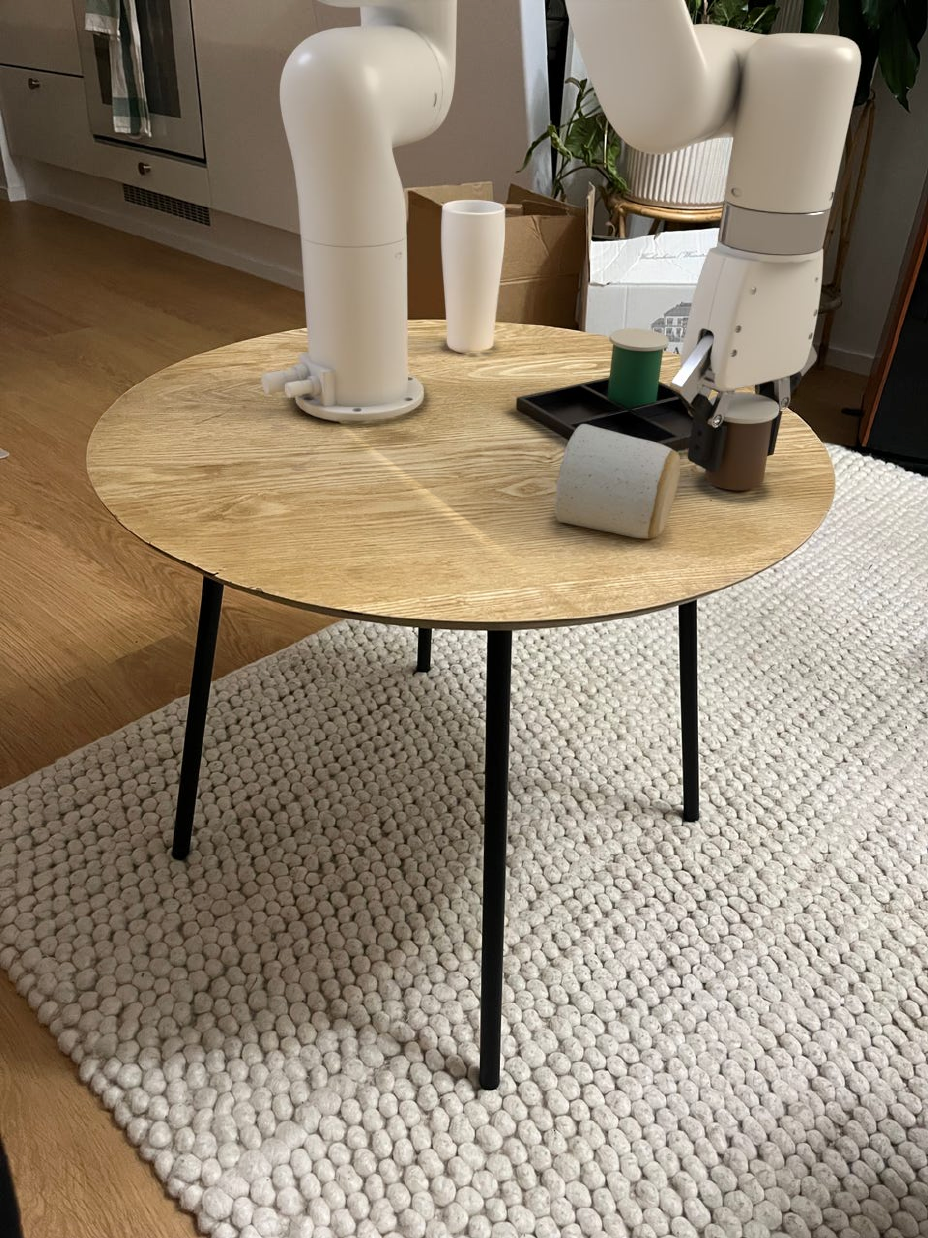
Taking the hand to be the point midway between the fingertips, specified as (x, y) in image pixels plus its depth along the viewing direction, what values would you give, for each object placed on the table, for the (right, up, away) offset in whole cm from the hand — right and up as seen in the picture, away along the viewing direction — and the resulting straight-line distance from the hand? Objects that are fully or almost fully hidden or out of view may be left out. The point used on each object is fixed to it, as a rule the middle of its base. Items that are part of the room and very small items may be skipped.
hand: (730, 455), depth 83 cm
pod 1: (-6, +8, +16) cm, 18 cm away
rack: (-7, +5, +12) cm, 14 cm away
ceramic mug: (-10, -6, -4) cm, 12 cm away
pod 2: (+1, -2, +1) cm, 2 cm away
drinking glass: (-21, +17, +29) cm, 40 cm away
